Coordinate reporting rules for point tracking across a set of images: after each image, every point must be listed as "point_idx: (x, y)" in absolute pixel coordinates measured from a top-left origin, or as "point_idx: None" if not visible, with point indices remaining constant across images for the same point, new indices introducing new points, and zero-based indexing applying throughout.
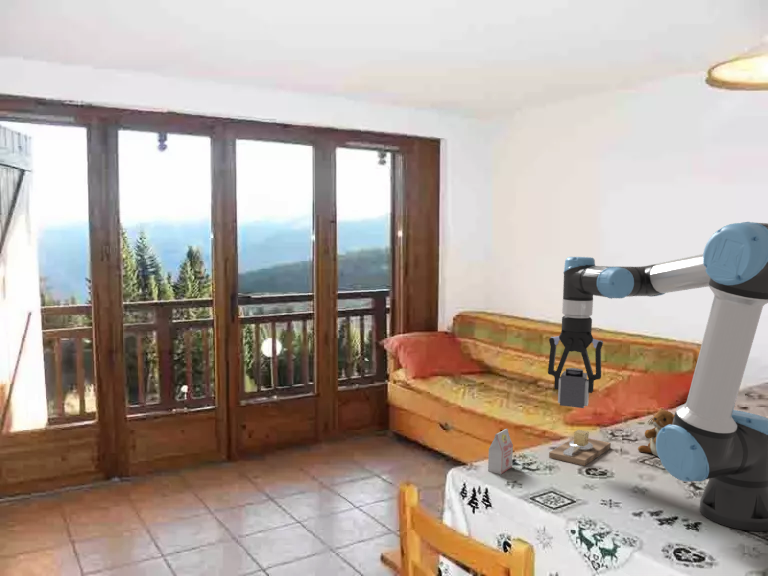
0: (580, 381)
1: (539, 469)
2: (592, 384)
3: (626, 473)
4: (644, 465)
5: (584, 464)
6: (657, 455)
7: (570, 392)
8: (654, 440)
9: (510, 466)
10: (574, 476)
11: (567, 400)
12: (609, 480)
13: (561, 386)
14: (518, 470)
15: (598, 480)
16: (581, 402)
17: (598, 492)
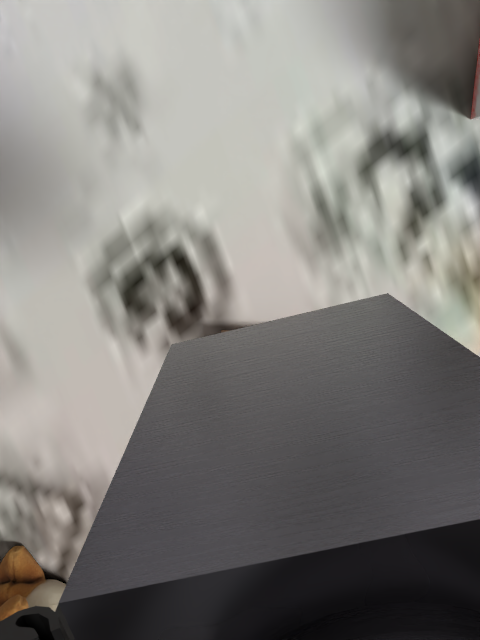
0: (175, 505)
1: (357, 170)
2: (62, 620)
3: (66, 351)
4: (52, 471)
5: (221, 331)
6: (51, 580)
7: (318, 370)
8: (21, 607)
9: (476, 99)
10: (209, 185)
11: (329, 327)
12: (83, 233)
13: (475, 366)
14: (431, 93)
15: (116, 204)
16: (187, 359)
17: (60, 60)
